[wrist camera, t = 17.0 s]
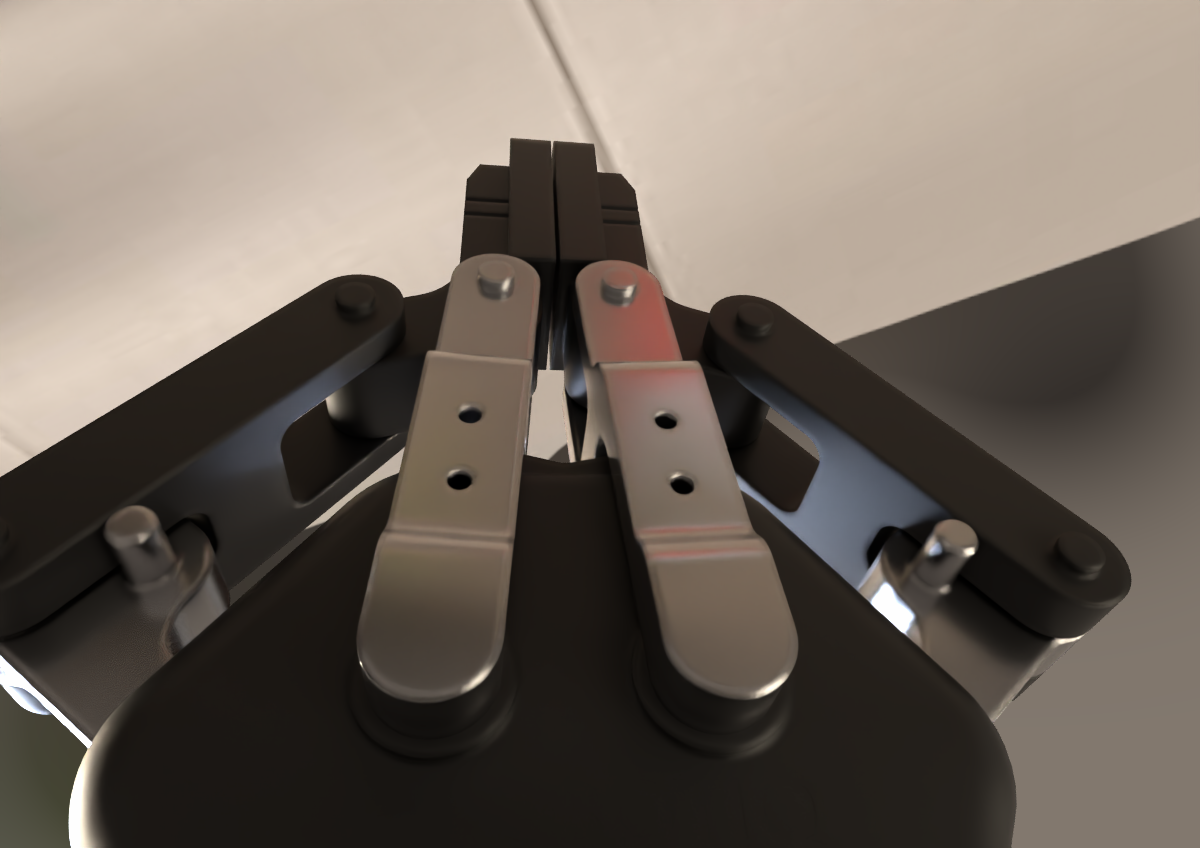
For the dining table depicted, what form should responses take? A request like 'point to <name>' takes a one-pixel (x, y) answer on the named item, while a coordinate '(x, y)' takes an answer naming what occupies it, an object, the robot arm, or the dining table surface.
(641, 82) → the dining table surface
